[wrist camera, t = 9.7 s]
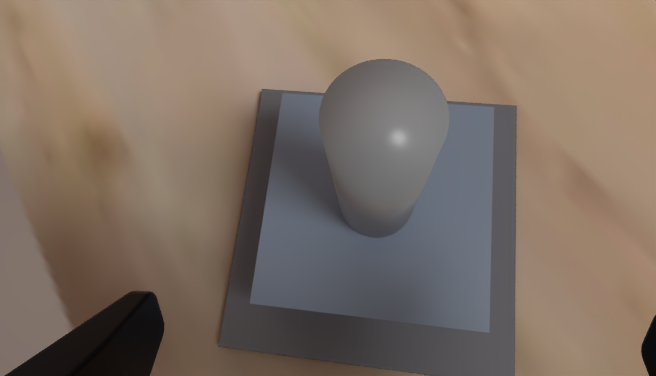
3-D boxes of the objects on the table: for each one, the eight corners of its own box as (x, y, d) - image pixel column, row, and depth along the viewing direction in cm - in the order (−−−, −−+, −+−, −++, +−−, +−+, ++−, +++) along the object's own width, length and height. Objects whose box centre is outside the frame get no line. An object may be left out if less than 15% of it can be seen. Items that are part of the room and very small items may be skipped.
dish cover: (464, 328, 18) (603, 354, 7) (272, 304, 19) (150, 297, 8) (471, 144, 20) (587, -43, 9) (297, 130, 21) (225, -53, 10)
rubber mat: (510, 384, 18) (514, 386, 17) (222, 345, 19) (218, 346, 19) (513, 110, 21) (516, 105, 20) (264, 93, 22) (262, 89, 22)
